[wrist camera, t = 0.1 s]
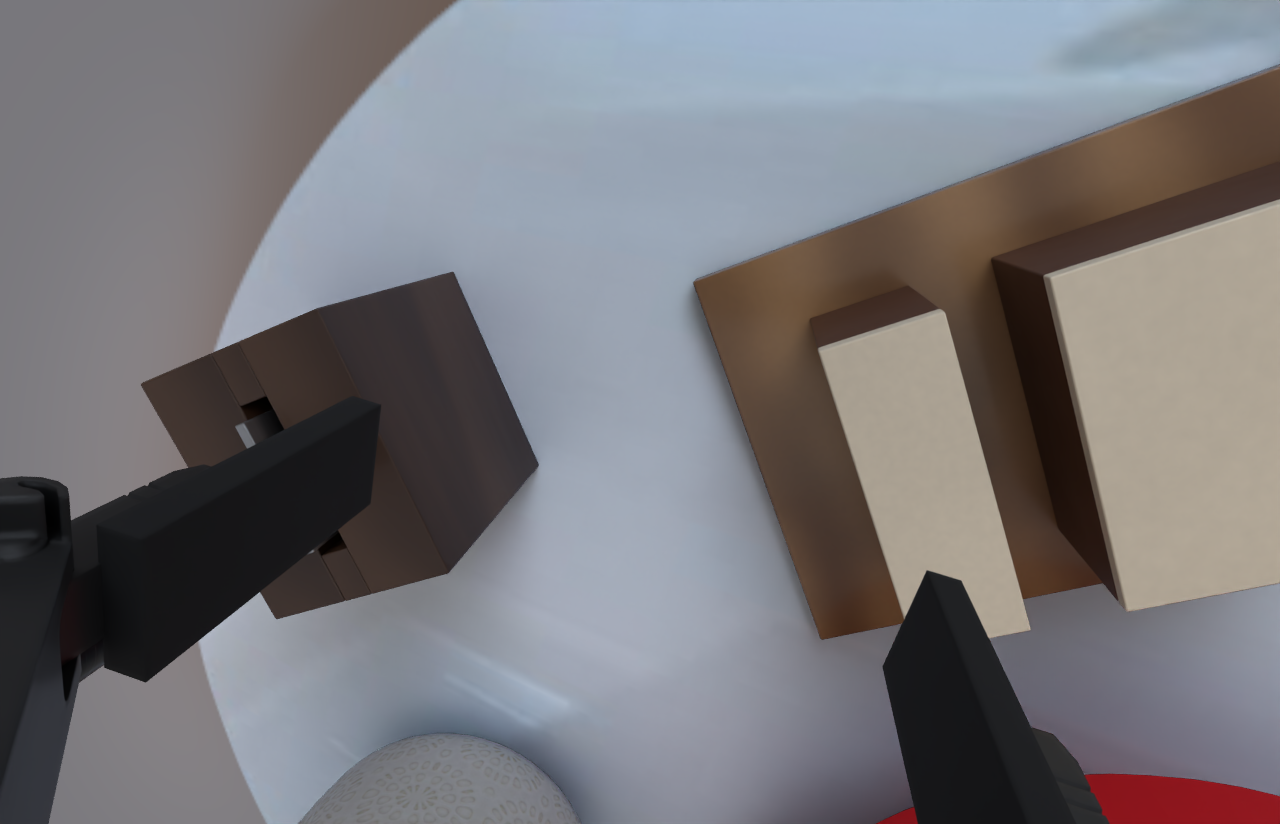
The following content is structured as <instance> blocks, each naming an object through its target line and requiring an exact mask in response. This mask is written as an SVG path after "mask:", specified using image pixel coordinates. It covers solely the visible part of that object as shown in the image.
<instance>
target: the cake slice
mask: <svg viewBox="0 0 1280 824" xmlns="http://www.w3.org/2000/svg"><path fill="white" fill-rule="evenodd" d="M810 323H811V327H812V330H813V334H814V338H815V341H816V345H817V349H818V353H819V356H820V359H821V362H822V365H823V368H824V371H825V374H826V378H827V381H828V384H829V387H830V390H831V393H832V396H833V399H834V402H835V406H836V409H837V412H838V415H839V418H840V421H841V424H842V427H843V430H844V434H845V437H846V440H847V443H848V446H849V449H850V452H851V455H852V458H853V462H854V465H855V468H856V471H857V474H858V477H859V480H860V483H861V486H862V490H863V493H864V496H865V499H866V502H867V505H868V508H869V511H870V514H871V518H872V521H873V524H874V527H875V530H876V533H877V536H878V539H879V542H880V546H881V549H882V552H883V555H884V558H885V561H886V564H887V567H888V570H889V574H890V577H891V580H892V583H893V586H894V589H895V592H896V595H897V598H898V602H899V605H900V608H901V611H902V614H903V617H904V619H905V617H906V614H907V612H908V610H909V608H910V606H911V603H912V601H913V599H914V597H915V595H916V593H917V590H918V588H919V586H920V584H921V582H922V579H923V577H924V575H925V573H926V571H927V570H929V571H932V572H935V573H938V574H942V575H945V576H948V577H952V578H955V579H958V580H961V581H962V583H963V585H964V587H965V589H966V591H967V593H968V595H969V598H970V600H971V602H972V604H973V606H974V608H975V610H976V612H977V614H978V617H979V619H980V621H981V623H982V625H983V627H984V629H985V631H986V634H987V636H988V638H994V637H999V636H1004V635H1009V634H1015V633H1020V632H1025V631H1030V629H1031V628H1030V624H1029V620H1028V617H1027V613H1026V609H1025V606H1024V602H1023V598H1022V595H1021V591H1020V587H1019V583H1018V580H1017V576H1016V572H1015V569H1014V565H1013V561H1012V558H1011V554H1010V550H1009V547H1008V543H1007V539H1006V535H1005V532H1004V528H1003V524H1002V521H1001V517H1000V513H999V510H998V506H997V502H996V499H995V495H994V491H993V487H992V484H991V480H990V476H989V473H988V469H987V465H986V462H985V458H984V454H983V451H982V447H981V443H980V439H979V436H978V432H977V428H976V425H975V421H974V417H973V414H972V410H971V406H970V403H969V399H968V395H967V392H966V388H965V384H964V380H963V377H962V373H961V369H960V366H959V362H958V358H957V355H956V351H955V347H954V344H953V340H952V336H951V332H950V329H949V325H948V321H947V318H946V314H945V312H944V311H943V310H941V309H940V308H939V307H937V306H936V305H935V304H933V303H932V302H930V301H929V300H928V299H926V298H925V297H924V296H922V295H921V294H920V293H918V292H917V291H916V290H914V289H913V288H912V287H910V286H905V287H902V288H899V289H896V290H893V291H890V292H887V293H884V294H881V295H878V296H875V297H872V298H869V299H866V300H863V301H860V302H857V303H854V304H851V305H848V306H845V307H842V308H839V309H836V310H833V311H830V312H827V313H824V314H821V315H818V316H815V317H812V318H810Z"/></svg>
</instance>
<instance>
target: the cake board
mask: <svg viewBox="0 0 1280 824" xmlns="http://www.w3.org/2000/svg"><path fill="white" fill-rule="evenodd" d="M1278 161H1280V64H1279V65H1276V66H1273V67H1270V68H1268V69H1265V70H1262V71H1260V72H1257V73H1254V74H1251V75H1249V76H1246V77H1243V78H1241V79H1238V80H1235V81H1232V82H1230V83H1227V84H1224V85H1222V86H1219V87H1216V88H1213V89H1211V90H1208V91H1205V92H1202V93H1200V94H1197V95H1194V96H1192V97H1189V98H1186V99H1183V100H1181V101H1178V102H1175V103H1173V104H1170V105H1167V106H1164V107H1162V108H1159V109H1156V110H1154V111H1151V112H1148V113H1145V114H1143V115H1140V116H1137V117H1135V118H1132V119H1129V120H1126V121H1124V122H1121V123H1118V124H1116V125H1113V126H1110V127H1107V128H1105V129H1102V130H1099V131H1097V132H1094V133H1091V134H1088V135H1086V136H1083V137H1080V138H1078V139H1075V140H1072V141H1069V142H1067V143H1064V144H1061V145H1059V146H1056V147H1053V148H1050V149H1048V150H1045V151H1042V152H1040V153H1037V154H1034V155H1031V156H1029V157H1026V158H1023V159H1021V160H1018V161H1015V162H1012V163H1010V164H1007V165H1004V166H1001V167H999V168H996V169H993V170H991V171H988V172H985V173H982V174H980V175H977V176H974V177H972V178H969V179H966V180H963V181H961V182H958V183H955V184H953V185H950V186H947V187H944V188H942V189H939V190H936V191H934V192H931V193H928V194H925V195H923V196H920V197H917V198H915V199H912V200H909V201H906V202H904V203H901V204H898V205H896V206H893V207H890V208H887V209H885V210H882V211H879V212H877V213H874V214H871V215H868V216H866V217H863V218H860V219H858V220H855V221H852V222H849V223H847V224H844V225H841V226H839V227H836V228H833V229H830V230H828V231H825V232H822V233H820V234H817V235H814V236H811V237H809V238H806V239H803V240H800V241H798V242H795V243H792V244H790V245H787V246H784V247H781V248H779V249H776V250H773V251H771V252H768V253H765V254H762V255H760V256H757V257H754V258H752V259H749V260H746V261H743V262H741V263H738V264H735V265H733V266H730V267H727V268H724V269H722V270H719V271H716V272H714V273H711V274H708V275H705V276H703V277H700V278H697V279H696V280H695V281H694V282H693V284H694V287H695V289H696V292H697V295H698V298H699V301H700V303H701V306H702V309H703V312H704V315H705V317H706V320H707V323H708V326H709V329H710V331H711V334H712V337H713V340H714V342H715V345H716V348H717V351H718V354H719V356H720V359H721V362H722V365H723V368H724V370H725V373H726V376H727V379H728V382H729V384H730V387H731V390H732V393H733V395H734V398H735V401H736V404H737V407H738V409H739V412H740V415H741V418H742V421H743V423H744V426H745V429H746V432H747V435H748V437H749V440H750V443H751V446H752V449H753V451H754V454H755V457H756V460H757V462H758V465H759V468H760V471H761V474H762V476H763V479H764V482H765V485H766V488H767V490H768V493H769V496H770V499H771V502H772V504H773V507H774V510H775V513H776V516H777V518H778V521H779V524H780V527H781V529H782V532H783V535H784V538H785V541H786V543H787V546H788V549H789V552H790V555H791V557H792V560H793V563H794V566H795V569H796V571H797V574H798V577H799V580H800V583H801V585H802V588H803V591H804V594H805V596H806V599H807V602H808V605H809V608H810V610H811V613H812V616H813V619H814V622H815V624H816V627H817V630H818V633H819V636H820V638H821V640H823V639H828V638H833V637H838V636H843V635H848V634H853V633H858V632H863V631H868V630H873V629H878V628H883V627H888V626H893V625H897V624H902V623H903V621H904V617H903V614H902V611H901V608H900V605H899V602H898V598H897V595H896V592H895V589H894V586H893V583H892V580H891V577H890V574H889V570H888V567H887V564H886V561H885V558H884V555H883V552H882V549H881V546H880V542H879V539H878V536H877V533H876V530H875V527H874V524H873V521H872V518H871V514H870V511H869V508H868V505H867V502H866V499H865V496H864V493H863V490H862V486H861V483H860V480H859V477H858V474H857V471H856V468H855V465H854V462H853V458H852V455H851V452H850V449H849V446H848V443H847V440H846V437H845V434H844V430H843V427H842V424H841V421H840V418H839V415H838V412H837V409H836V406H835V402H834V399H833V396H832V393H831V390H830V387H829V384H828V381H827V378H826V374H825V371H824V368H823V365H822V362H821V359H820V356H819V353H818V349H817V345H816V341H815V338H814V334H813V330H812V327H811V323H810V318H812V317H815V316H818V315H821V314H824V313H827V312H830V311H833V310H836V309H839V308H842V307H845V306H848V305H851V304H854V303H857V302H860V301H863V300H866V299H869V298H872V297H875V296H878V295H881V294H884V293H887V292H890V291H893V290H896V289H899V288H902V287H905V286H910V287H912V288H913V289H914V290H916V291H917V292H918V293H920V294H921V295H922V296H924V297H925V298H926V299H928V300H929V301H930V302H932V303H933V304H935V305H936V306H937V307H939V308H940V309H941V310H943V311H944V312H945V314H946V318H947V321H948V325H949V329H950V332H951V336H952V340H953V344H954V347H955V351H956V355H957V358H958V362H959V366H960V369H961V373H962V377H963V380H964V384H965V388H966V392H967V395H968V399H969V403H970V406H971V410H972V414H973V417H974V421H975V425H976V428H977V432H978V436H979V439H980V443H981V447H982V451H983V454H984V458H985V462H986V465H987V469H988V473H989V476H990V480H991V484H992V487H993V491H994V495H995V499H996V502H997V506H998V510H999V513H1000V517H1001V521H1002V524H1003V528H1004V532H1005V535H1006V539H1007V543H1008V547H1009V550H1010V554H1011V558H1012V561H1013V565H1014V569H1015V572H1016V576H1017V580H1018V583H1019V587H1020V591H1021V595H1022V598H1023V599H1027V598H1032V597H1037V596H1042V595H1046V594H1051V593H1056V592H1061V591H1066V590H1071V589H1076V588H1081V587H1086V586H1091V585H1096V584H1101V583H1103V582H1102V581H1101V580H1100V579H1099V578H1098V576H1097V575H1096V574H1095V573H1094V572H1093V570H1092V569H1091V568H1090V567H1089V566H1088V564H1087V563H1086V562H1085V561H1084V559H1083V558H1082V557H1081V556H1080V555H1079V553H1078V552H1077V551H1076V550H1075V549H1074V547H1073V546H1072V545H1071V544H1070V543H1069V541H1068V540H1067V539H1066V538H1065V537H1064V535H1063V534H1062V533H1061V532H1060V530H1059V529H1058V526H1057V522H1056V518H1055V514H1054V510H1053V506H1052V502H1051V498H1050V494H1049V490H1048V486H1047V482H1046V478H1045V474H1044V470H1043V466H1042V462H1041V458H1040V454H1039V450H1038V446H1037V442H1036V438H1035V434H1034V430H1033V426H1032V422H1031V418H1030V414H1029V410H1028V406H1027V402H1026V398H1025V394H1024V390H1023V386H1022V382H1021V378H1020V374H1019V370H1018V366H1017V362H1016V358H1015V354H1014V350H1013V346H1012V342H1011V338H1010V334H1009V330H1008V326H1007V322H1006V318H1005V314H1004V310H1003V306H1002V302H1001V298H1000V293H999V289H998V285H997V281H996V277H995V273H994V269H993V265H992V261H991V258H992V257H994V256H997V255H1000V254H1003V253H1006V252H1009V251H1012V250H1015V249H1018V248H1021V247H1024V246H1027V245H1030V244H1033V243H1036V242H1039V241H1042V240H1045V239H1048V238H1051V237H1054V236H1057V235H1060V234H1063V233H1066V232H1069V231H1072V230H1075V229H1078V228H1081V227H1084V226H1087V225H1090V224H1093V223H1096V222H1099V221H1102V220H1105V219H1108V218H1111V217H1114V216H1117V215H1120V214H1123V213H1126V212H1129V211H1132V210H1135V209H1138V208H1141V207H1144V206H1147V205H1150V204H1153V203H1156V202H1159V201H1162V200H1165V199H1168V198H1171V197H1174V196H1177V195H1180V194H1183V193H1186V192H1189V191H1192V190H1195V189H1198V188H1201V187H1204V186H1207V185H1210V184H1212V183H1215V182H1218V181H1221V180H1224V179H1227V178H1230V177H1233V176H1236V175H1239V174H1242V173H1245V172H1248V171H1251V170H1254V169H1257V168H1260V167H1263V166H1266V165H1269V164H1272V163H1275V162H1278Z"/></svg>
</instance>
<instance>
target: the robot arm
mask: <svg viewBox="0 0 1280 824" xmlns="http://www.w3.org/2000/svg"><path fill="white" fill-rule="evenodd" d="M380 413H381V404H377V403H374V402H371V401H368V400H364V399H361V398H358V397H354V396H351V397H349V398H347V399H345V400H343V401H341V402H339V403H337V404H335V405H333V406H331V407H329V408H327V409H325V410H323V411H321V412H319V413H317V414H315V415H313V416H311V417H309V418H307V419H305V420H303V421H301V422H299V423H297V424H295V425H293V426H291V427H289V428H287V429H285V430H283V431H281V432H279V433H277V434H275V435H273V436H271V437H269V438H267V439H265V440H263V441H261V442H259V443H257V444H255V445H253V446H251V447H249V448H247V449H245V450H243V451H242V452H240V453H238V454H236V455H234V456H232V457H230V458H228V459H226V460H224V461H222V462H220V463H218V464H216V465H214V466H212V467H211V466H208V465H205V464H203V465H198V466H194V467H190V468H186V469H182V470H177V471H173V472H171V473H169V474H167V475H165V476H163V477H161V478H159V479H157V480H155V481H152V482H150V483H149V485H148V486H142V487H140V488H138V489H136V490H134V491H132V492H130V493H129V495H128V496H126V495H123V496H121V497H119V498H117V499H115V500H113V501H111V502H109V503H107V504H105V505H102V506H100V507H98V508H96V509H94V510H92V511H90V512H88V513H86V514H84V515H82V516H80V517H78V518H75V519H74V520H71V516H70V502H69V493H68V488H67V487H66V486H64V485H63V484H61V483H60V482H58V481H54V480H51V479H46V478H42V477H22V476H21V477H11V478H1V479H0V824H48V823H49V818H50V813H51V809H52V805H53V800H54V795H55V790H56V785H57V781H58V777H59V772H60V768H61V763H62V758H63V754H64V749H65V744H66V740H67V735H68V731H69V725H70V721H71V717H72V712H73V708H74V703H75V698H76V693H77V689H78V684H79V680H80V675H81V657H80V654H81V653H83V652H84V651H86V650H87V649H89V648H90V647H92V646H93V645H95V644H96V643H98V642H99V641H100V640H102V639H103V653H104V667H105V668H107V669H109V670H112V671H115V672H118V673H121V674H123V675H126V676H129V677H132V678H135V679H138V680H140V681H143V682H147V681H148V680H149V679H151V678H152V677H153V676H155V675H156V674H157V673H158V672H160V671H161V670H162V669H163V668H165V667H166V666H167V665H168V664H170V663H171V662H172V661H173V660H175V659H176V658H177V657H178V656H180V655H181V654H182V653H184V652H185V651H186V650H187V649H189V648H190V647H191V646H192V645H194V644H195V643H196V642H197V641H199V640H200V639H201V638H202V637H204V636H205V635H206V634H207V633H209V632H210V631H211V630H212V629H214V628H215V627H216V626H218V625H219V624H220V623H221V622H223V621H224V620H225V619H226V618H228V617H229V616H230V615H231V614H233V613H234V612H235V611H236V610H238V609H239V608H240V607H241V606H243V605H244V604H245V603H246V602H248V601H249V600H250V599H251V598H253V597H254V596H255V595H257V594H258V593H259V592H260V591H262V590H263V589H264V588H265V587H267V586H268V585H269V584H270V583H272V582H273V581H274V580H275V579H277V578H278V577H279V576H280V575H282V574H283V573H284V572H285V571H287V570H288V569H289V568H290V567H292V566H293V565H294V564H296V563H297V562H298V561H299V560H301V559H302V558H303V557H304V556H306V555H307V554H308V553H309V552H311V551H312V550H313V549H314V548H316V547H317V546H318V545H319V544H321V543H322V542H323V541H324V540H326V539H327V538H328V537H329V536H331V535H332V534H333V533H335V532H336V531H337V530H338V529H340V528H341V527H342V526H343V525H345V524H346V523H347V522H348V521H350V520H351V519H352V518H353V517H355V516H356V515H357V514H358V513H360V512H361V511H362V510H363V509H365V508H366V507H367V506H368V505H370V504H371V496H372V486H373V477H374V468H375V459H376V450H377V440H378V431H379V422H380ZM883 671H884V676H885V680H886V685H887V689H888V693H889V698H890V702H891V707H892V711H893V716H894V720H895V725H896V729H897V733H898V738H899V742H900V747H901V751H902V756H903V760H904V765H905V769H906V773H907V778H908V782H909V787H910V791H911V796H912V800H913V805H914V809H915V813H916V818H917V822H918V824H1110V823H1109V821H1108V819H1107V817H1106V816H1105V815H1102V811H1103V810H1102V808H1101V806H1100V804H1099V802H1098V800H1097V798H1096V796H1095V794H1094V793H1091V787H1090V785H1089V783H1088V781H1087V779H1086V777H1085V775H1084V774H1083V772H1082V770H1081V768H1080V766H1079V764H1078V762H1077V761H1076V760H1075V758H1074V757H1073V756H1072V755H1071V754H1070V753H1069V752H1068V751H1067V749H1066V748H1065V747H1064V746H1063V745H1062V744H1061V743H1060V742H1059V740H1058V739H1057V738H1056V737H1055V736H1054V735H1053V734H1050V733H1047V732H1044V731H1041V730H1038V729H1035V728H1032V727H1030V725H1029V722H1028V720H1027V718H1026V716H1025V714H1024V712H1023V710H1022V708H1021V705H1020V703H1019V701H1018V699H1017V697H1016V695H1015V693H1014V691H1013V689H1012V686H1011V684H1010V682H1009V680H1008V678H1007V676H1006V674H1005V672H1004V670H1003V667H1002V665H1001V663H1000V661H999V659H998V657H997V655H996V653H995V650H994V648H993V646H992V644H991V642H990V640H989V638H988V636H987V634H986V631H985V629H984V627H983V625H982V623H981V621H980V619H979V617H978V614H977V612H976V610H975V608H974V606H973V604H972V602H971V600H970V598H969V595H968V593H967V591H966V589H965V587H964V585H963V583H962V581H961V580H958V579H955V578H952V577H948V576H945V575H942V574H938V573H935V572H932V571H929V570H927V571H926V573H925V575H924V577H923V579H922V582H921V584H920V586H919V588H918V590H917V593H916V595H915V597H914V599H913V601H912V603H911V606H910V608H909V610H908V612H907V614H906V617H905V619H904V621H903V623H902V625H901V627H900V630H899V632H898V634H897V636H896V638H895V641H894V643H893V645H892V647H891V649H890V651H889V654H888V656H887V658H886V660H885V662H884V665H883Z"/></svg>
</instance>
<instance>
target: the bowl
mask: <svg viewBox="0 0 1280 824" xmlns="http://www.w3.org/2000/svg"><path fill="white" fill-rule="evenodd" d="M1085 777H1086V779H1087V781H1088V783H1089V785H1090V787H1091V793H1094V794H1095V796H1096V798H1097V800H1098V802H1099V804H1100V806H1101V808H1102V810H1103V811H1102V815H1105V816H1106V817H1107V819H1108V821H1109V823H1110V824H1280V796H1277V795H1273V794H1268V793H1264V792H1260V791H1256V790H1251V789H1247V788H1243V787H1238V786H1232V785H1226V784H1220V783H1214V782H1208V781H1202V780H1195V779H1185V778H1174V777H1162V776H1151V775H1128V774H1089V775H1085ZM876 824H918V822H917V818H916V813H915V809H914V807H912V808H910V809H907V810H904V811H902V812H899V813H897V814H895V815H893V816H891V817H889V818H887V819H884V820H882V821H880V822H878V823H876Z"/></svg>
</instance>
